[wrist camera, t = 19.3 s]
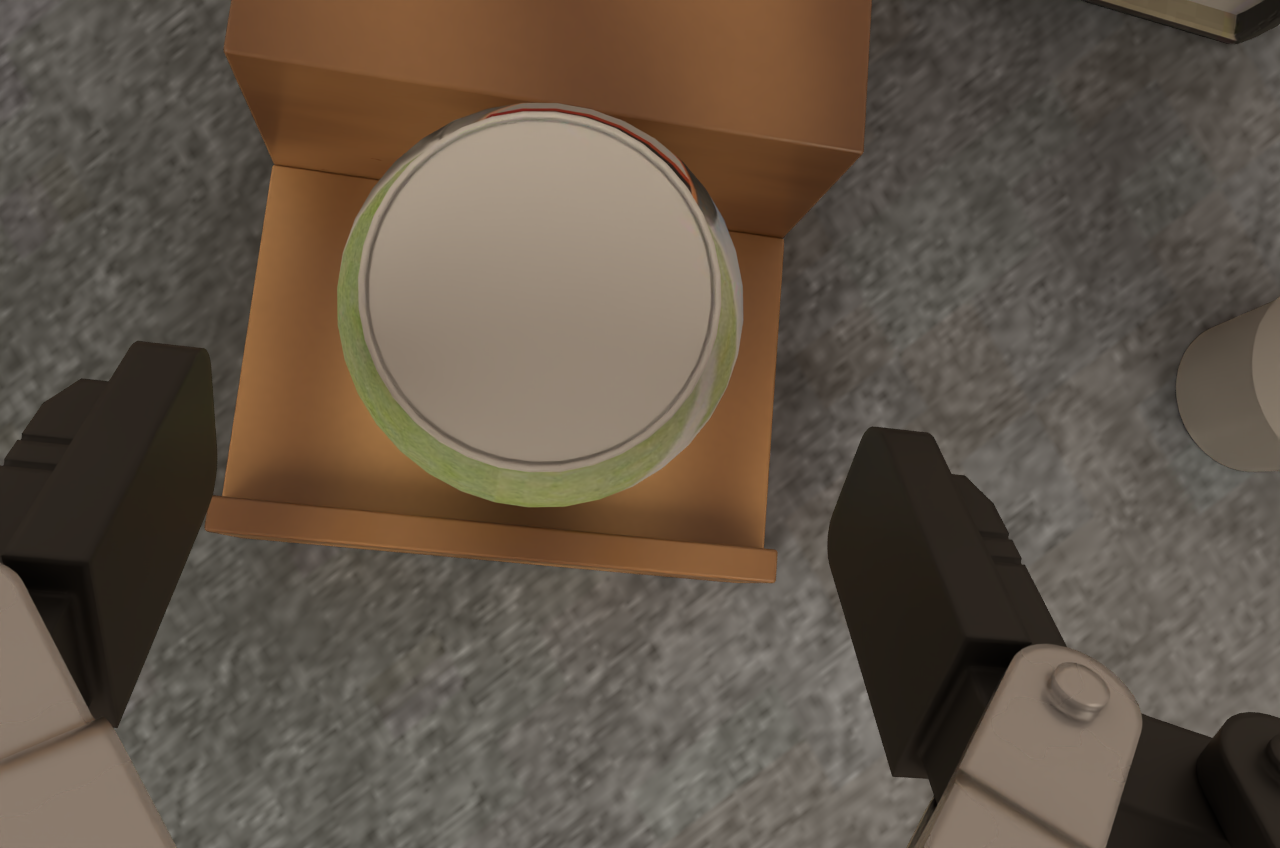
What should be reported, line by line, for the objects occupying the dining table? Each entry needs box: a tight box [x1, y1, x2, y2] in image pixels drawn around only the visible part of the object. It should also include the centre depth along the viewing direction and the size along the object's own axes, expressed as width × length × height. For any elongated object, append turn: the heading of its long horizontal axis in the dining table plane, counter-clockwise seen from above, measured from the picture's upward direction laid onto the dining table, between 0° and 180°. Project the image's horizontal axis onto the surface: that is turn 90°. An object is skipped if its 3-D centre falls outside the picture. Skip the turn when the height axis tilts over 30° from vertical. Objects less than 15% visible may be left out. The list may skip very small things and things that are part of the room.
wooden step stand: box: [205, 0, 872, 583], centre depth 25 cm, size 13×16×8 cm
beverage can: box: [337, 103, 743, 507], centre depth 20 cm, size 6×7×12 cm
